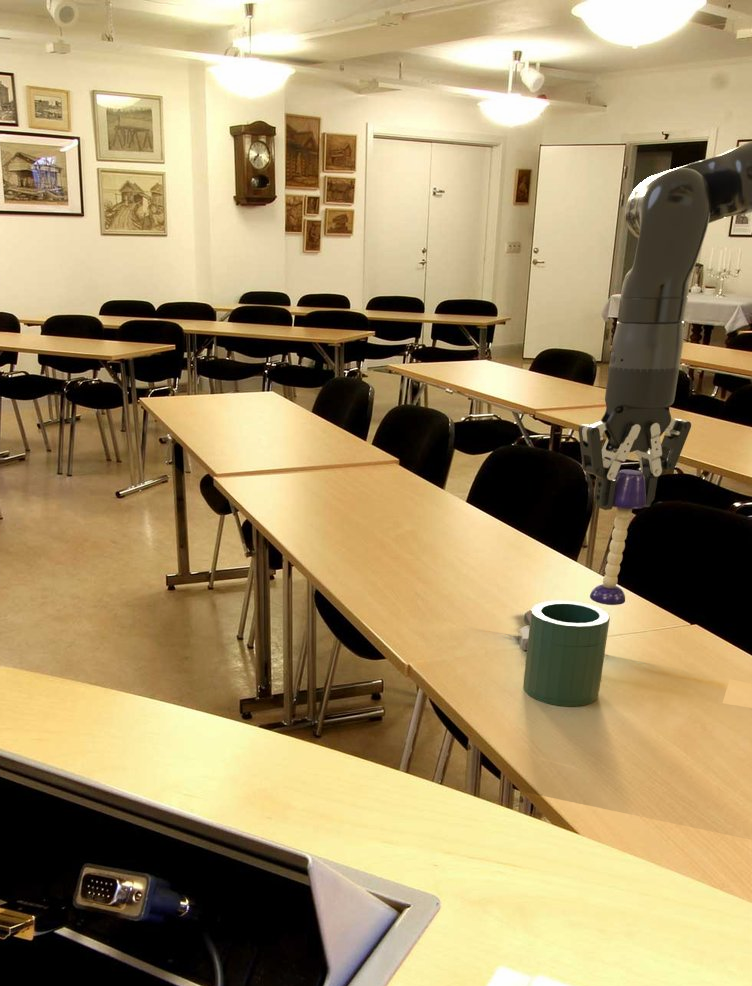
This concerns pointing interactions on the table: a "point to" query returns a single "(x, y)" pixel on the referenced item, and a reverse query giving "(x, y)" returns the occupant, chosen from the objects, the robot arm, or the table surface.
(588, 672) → the green cylindrical cup
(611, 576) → the toy lamp
